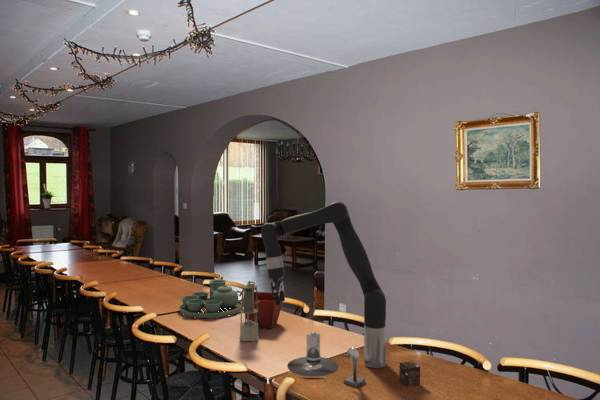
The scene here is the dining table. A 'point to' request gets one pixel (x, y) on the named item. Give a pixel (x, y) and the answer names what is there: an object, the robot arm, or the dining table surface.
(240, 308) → the tea set
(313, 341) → the cover
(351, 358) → the stand
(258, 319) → the plant pot
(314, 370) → the turntable
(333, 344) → the dining table surface
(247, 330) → the lamp
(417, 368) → the box
